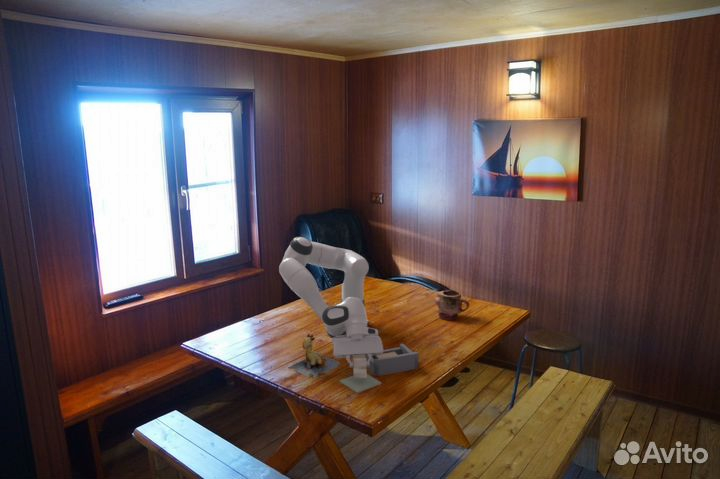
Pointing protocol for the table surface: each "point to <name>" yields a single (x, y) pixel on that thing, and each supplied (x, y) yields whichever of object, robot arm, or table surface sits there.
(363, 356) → the block
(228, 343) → the table surface
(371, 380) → the mat
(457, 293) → the brown ceramic mug
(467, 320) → the table surface
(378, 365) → the nook
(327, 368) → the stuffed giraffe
